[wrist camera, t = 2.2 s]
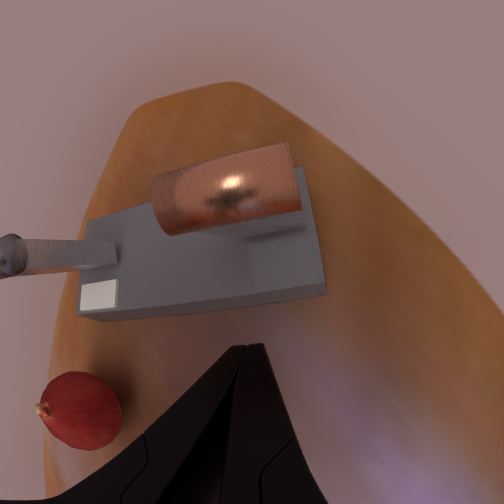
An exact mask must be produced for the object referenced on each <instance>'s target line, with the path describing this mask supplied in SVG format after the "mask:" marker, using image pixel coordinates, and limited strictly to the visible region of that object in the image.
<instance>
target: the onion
mask: <svg viewBox="0 0 504 504" xmlns="http://www.w3.org/2000/svg"><path fill="white" fill-rule="evenodd" d="M35 409H36V413H37V414H38V415H39V416H40V417H41V418H42V420H43V422H44V424H45V425H46V427H47V428H48V430H49V431H50V432H51V433H52V435H54V436H55V437H56V438H58V439H59V440H61V441H63V442H64V443H66V444H67V445H69V446H70V447H73V448H77V449H82V450H88V451H91V450H97V449H99V448H102V447H104V446H106V445H108V444H110V443H111V442H112V441H113V440H114V438H115V437H116V436H117V434H118V433H119V431H120V428H121V424H122V411H121V406H120V403H119V401H118V398H117V395H116V394H115V393H114V392H113V391H112V389H111V388H110V387H109V386H108V385H107V384H106V383H105V382H103V381H102V380H101V379H99V378H98V377H96V376H95V375H92V374H89V373H86V372H67V373H64V374H62V375H60V376H58V377H56V378H55V379H53V380H52V381H51V382H50V383H49V384H48V385H47V387H46V389H45V390H44V392H43V394H42V396H41V401H40V403H39V404H36V406H35Z"/></svg>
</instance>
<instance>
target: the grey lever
mask: <svg viewBox="0 0 504 504" xmlns="http://www.w3.org/2000/svg"><path fill="white" fill-rule="evenodd" d="M114 263H117V256H116V249H115V242H106V241H74V240H41V239H22V238H21V237H20V236H18V235H16V234H8V235H5V236H3V237H1V238H0V279H4V278H8V277H16V276H28V275H39V274H50V273H61V272H72V271H81V270H86V269H91V268H95V267H100V266H105V265H109V264H114Z"/></svg>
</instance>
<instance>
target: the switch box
mask: <svg viewBox="0 0 504 504" xmlns="http://www.w3.org/2000/svg"><path fill="white" fill-rule="evenodd" d="M294 169H295V173H296V177H297V181H298V185H299V190H300V194H301V198H302V203H303V208H304V213H305V219H306V224H307V226H303V227H297V228H292V229H286V230H281V231H276V232H270V233H265V234H260V235H254V236H249V237H244V238H234V237H227V236H220V235H213V234H206V233H199V232H191V233H187V234H182V235H178V236H169V235H167V234H166V233H165V232H164V231H163V230H162V228H161V227H160V225H159V223H158V221H157V219H156V216H155V213H154V210H153V205H152V202H149V203H146V204H142V205H139V206H135V207H132V208H129V209H125V210H122V211H119V212H116V213H113V214H109V215H106V216H103V217H100V218H97V219H94V220H91V221H88V222H87V227H86V233H85V239H84V241H106V242H115V249H116V256H117V263H114V264H109V265H105V266H100V267H95V268H91V269H86V270H81V271H80V277H79V288H78V300H77V315H80V316H83V317H86V318H90V319H93V320H96V321H100V322H106V321H120V320H132V319H143V318H154V317H164V316H174V315H183V314H192V313H201V312H209V311H217V310H225V309H233V308H240V307H248V306H255V305H262V304H269V303H275V302H282V301H288V300H295V299H301V298H307V297H313V296H319V295H325V294H326V281H325V275H324V269H323V264H322V258H321V253H320V247H319V242H318V237H317V232H316V227H315V222H314V217H313V212H312V207H311V202H310V197H309V193H308V188H307V184H306V179H305V175H304V171H303V166H299V167H294Z"/></svg>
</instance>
